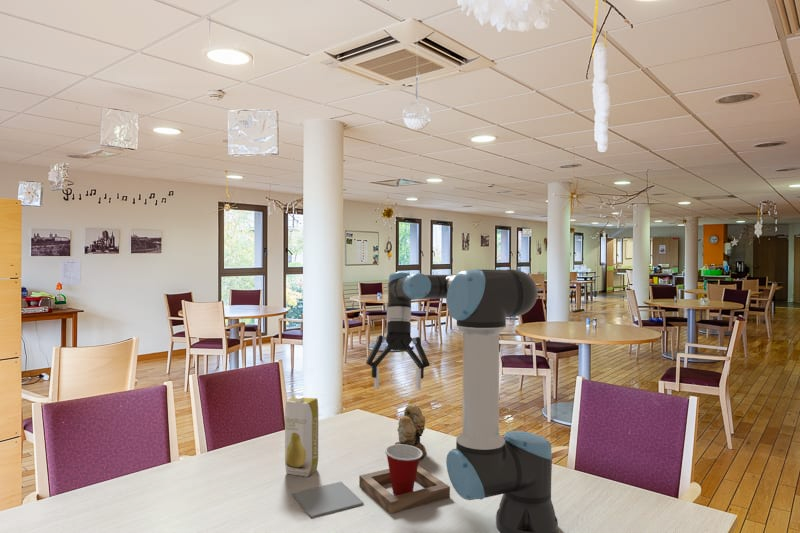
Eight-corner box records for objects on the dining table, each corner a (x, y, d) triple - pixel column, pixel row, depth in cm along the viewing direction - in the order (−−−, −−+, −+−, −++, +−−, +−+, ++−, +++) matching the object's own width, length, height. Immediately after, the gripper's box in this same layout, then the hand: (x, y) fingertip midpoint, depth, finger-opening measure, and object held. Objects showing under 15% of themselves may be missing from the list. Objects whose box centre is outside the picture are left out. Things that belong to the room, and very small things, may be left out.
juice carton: (281, 474, 162) (282, 397, 161) (295, 464, 169) (295, 390, 169) (308, 479, 159) (309, 400, 158) (321, 468, 166) (321, 393, 166)
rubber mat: (363, 504, 143) (363, 502, 143) (311, 517, 136) (311, 516, 136) (341, 483, 156) (341, 481, 156) (292, 494, 149) (292, 492, 149)
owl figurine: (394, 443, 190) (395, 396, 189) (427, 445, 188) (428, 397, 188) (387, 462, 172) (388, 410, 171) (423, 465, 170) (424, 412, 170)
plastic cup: (419, 502, 145) (419, 458, 145) (380, 498, 147) (381, 455, 147) (425, 485, 156) (425, 444, 155) (389, 481, 158) (389, 441, 157)
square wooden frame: (449, 497, 148) (449, 486, 148) (390, 513, 138) (390, 502, 138) (414, 472, 164) (414, 462, 164) (359, 485, 155) (359, 475, 155)
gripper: (431, 323, 176) (430, 389, 172) (358, 320, 169) (355, 388, 165) (439, 322, 169) (439, 390, 165) (363, 318, 162) (361, 389, 158)
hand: (397, 389), depth 165 cm, fingers open, 13 cm apart
